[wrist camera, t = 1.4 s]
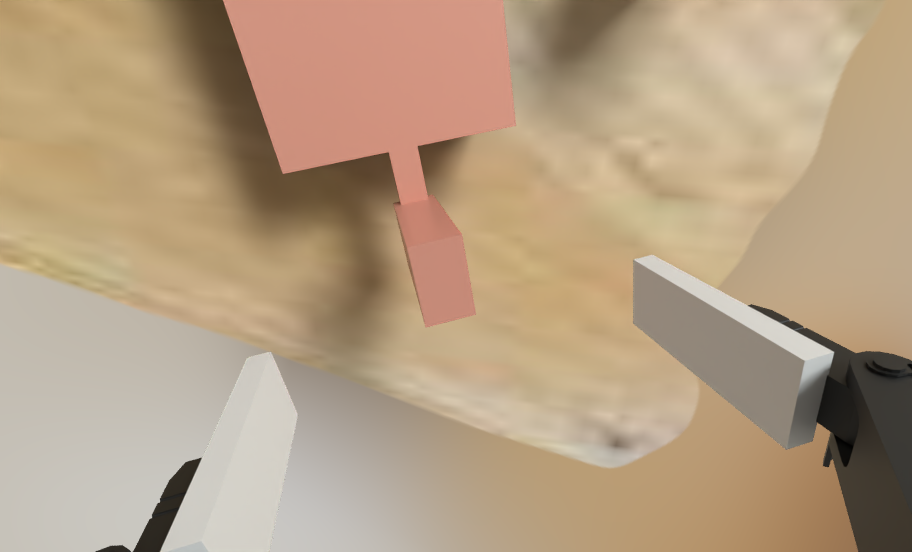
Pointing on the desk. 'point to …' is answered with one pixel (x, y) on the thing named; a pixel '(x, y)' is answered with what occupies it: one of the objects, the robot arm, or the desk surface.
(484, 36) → the lid
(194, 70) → the desk surface
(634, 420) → the desk surface
